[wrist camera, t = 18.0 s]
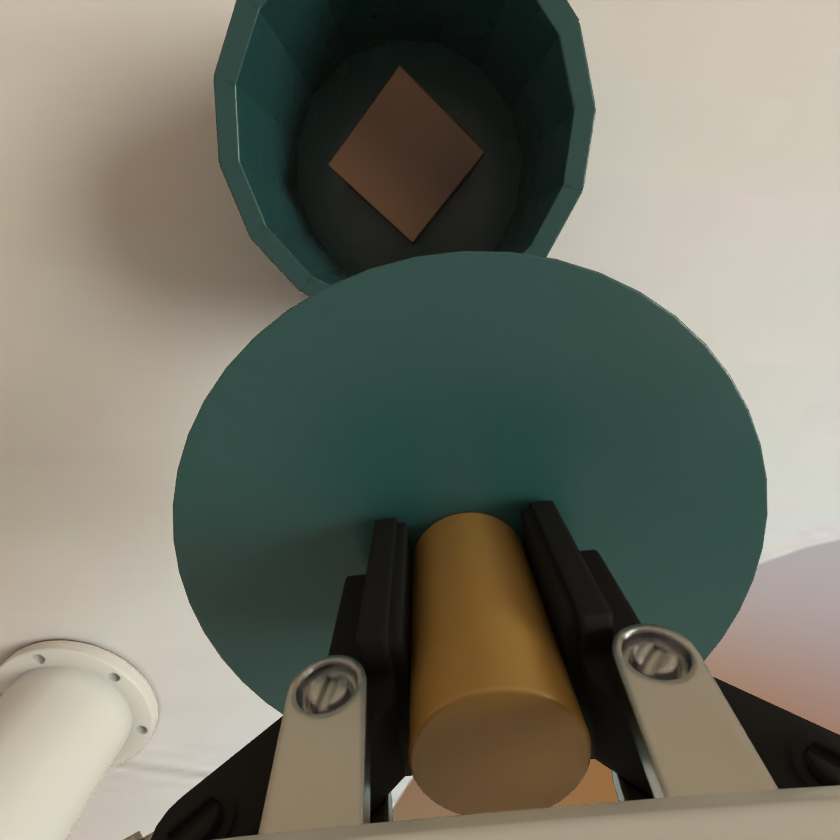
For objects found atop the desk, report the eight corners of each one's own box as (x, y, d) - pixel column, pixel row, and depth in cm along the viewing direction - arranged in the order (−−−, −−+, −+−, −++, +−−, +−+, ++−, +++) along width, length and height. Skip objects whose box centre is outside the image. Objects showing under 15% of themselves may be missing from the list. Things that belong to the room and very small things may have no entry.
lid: (430, 794, 17) (436, 1090, 11) (79, 506, 13) (-205, 719, 7) (831, 560, 13) (1151, 797, 8) (521, 94, 10) (673, -143, 4)
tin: (399, 349, 30) (391, 391, 21) (232, 162, 26) (135, 114, 17) (582, 189, 27) (665, 155, 18) (421, -44, 23) (422, -231, 14)
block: (413, 245, 27) (412, 243, 22) (343, 181, 26) (326, 164, 21) (473, 170, 26) (486, 151, 21) (402, 99, 25) (399, 63, 20)
